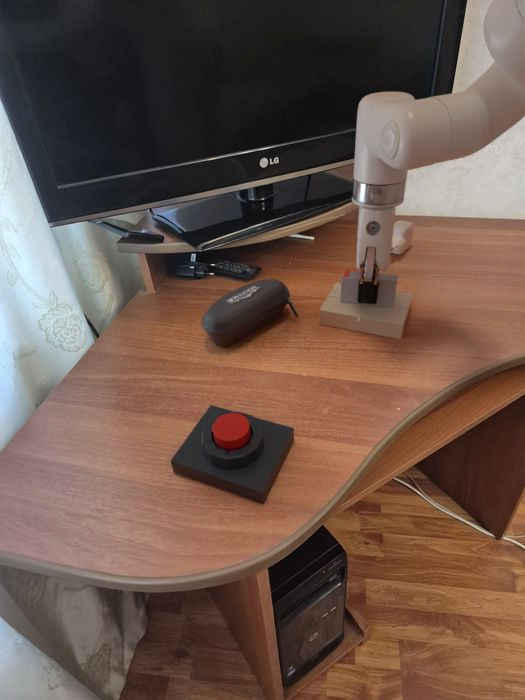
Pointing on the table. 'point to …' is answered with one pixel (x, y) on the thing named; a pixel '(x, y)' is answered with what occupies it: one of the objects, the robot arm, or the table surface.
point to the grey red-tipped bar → (384, 290)
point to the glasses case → (246, 311)
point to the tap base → (366, 315)
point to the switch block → (235, 456)
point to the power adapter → (401, 236)
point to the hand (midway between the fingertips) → (367, 297)
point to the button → (231, 431)
